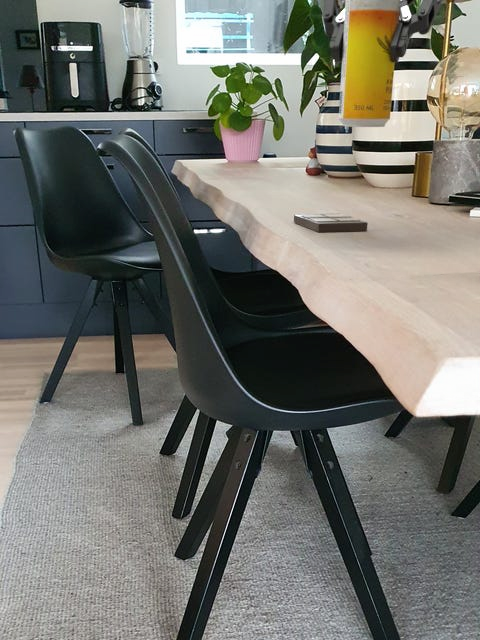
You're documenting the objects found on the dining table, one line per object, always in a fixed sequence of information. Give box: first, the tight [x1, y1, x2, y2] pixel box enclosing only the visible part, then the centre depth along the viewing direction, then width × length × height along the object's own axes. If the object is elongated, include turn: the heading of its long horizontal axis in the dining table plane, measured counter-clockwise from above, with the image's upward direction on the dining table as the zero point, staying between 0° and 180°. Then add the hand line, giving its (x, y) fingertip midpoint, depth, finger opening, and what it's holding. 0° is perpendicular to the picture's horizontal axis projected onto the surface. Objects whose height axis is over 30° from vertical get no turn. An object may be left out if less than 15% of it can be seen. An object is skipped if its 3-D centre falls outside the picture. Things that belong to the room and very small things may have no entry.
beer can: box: [338, 0, 400, 128], centre depth 92 cm, size 6×6×15 cm
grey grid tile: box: [293, 213, 368, 233], centre depth 120 cm, size 11×8×1 cm
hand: (365, 56), depth 91 cm, fingers closed on beer can, 6 cm apart
